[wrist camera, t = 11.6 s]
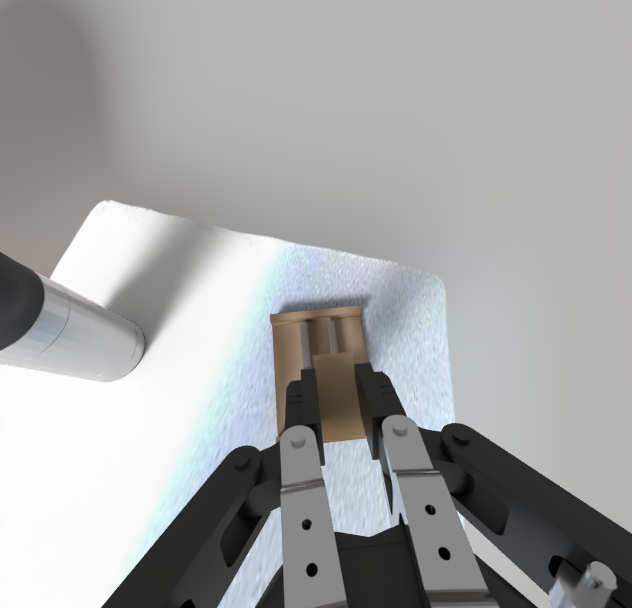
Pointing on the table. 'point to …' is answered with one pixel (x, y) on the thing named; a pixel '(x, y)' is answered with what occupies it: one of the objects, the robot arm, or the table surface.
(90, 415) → the table surface
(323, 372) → the oak slat
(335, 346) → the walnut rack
